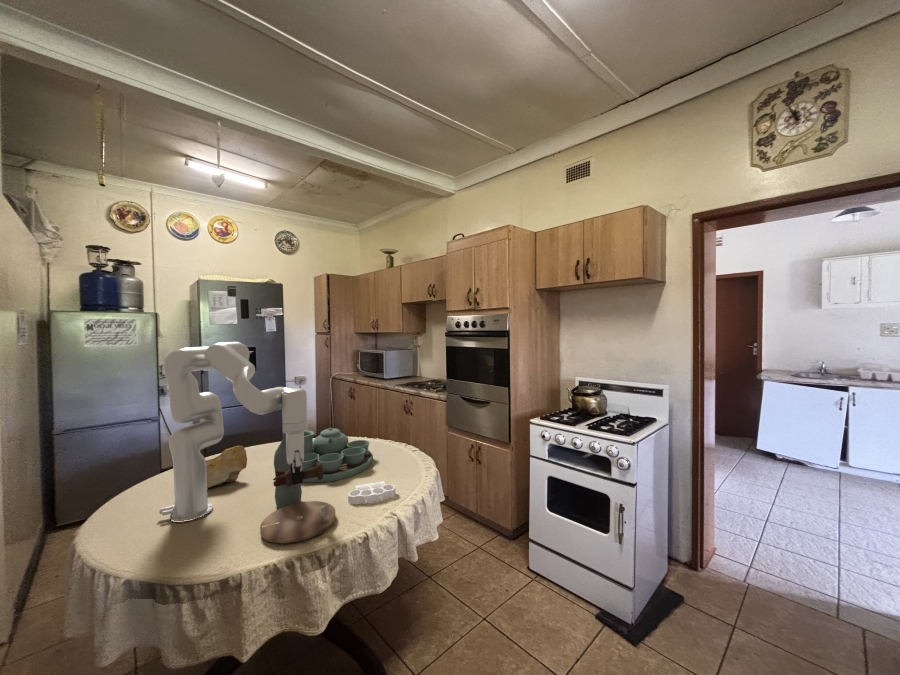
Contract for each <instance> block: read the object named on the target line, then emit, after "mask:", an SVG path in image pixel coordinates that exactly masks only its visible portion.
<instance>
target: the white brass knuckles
mask: <svg viewBox="0 0 900 675" xmlns="http://www.w3.org/2000/svg"><path fill="white" fill-rule="evenodd" d="M396 494H397V493H396V486H395V485H394V484H387V483H386V482H385V480H382V481H377V482H369V483H366V484H365V483H364V484H359V485H358V484H356V485H355V488H354V489H352V490H350V491H349V492H348V493H347V502H348V504H350V505H352V504H355V505H359V504H358V503H363V504H362V505H370V504H372V502H374V503H381V502H384V501H385V500H387V499H393V498H395V497H396ZM394 496H395V497H394ZM380 501H381V502H380ZM367 503H368V504H367ZM369 503H370V504H369Z"/></svg>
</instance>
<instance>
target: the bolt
mask: <svg viewBox="0 0 900 675" xmlns="http://www.w3.org/2000/svg"><path fill="white" fill-rule="evenodd" d="M302 471H303V479H310V478H315V477H317V478H318V480H322V478H323V467H322V464H321V463H320V462H318V463H316V467H312V468H310V469H305V470H302ZM272 480H273V486H274V487H275V488H276V487H278V486H280V485H285V484H286V486H287V487H289V486H292V473H291V471H290V470H289V471H286V472H285V475H280V476H277V477H276V476H275V477H274V478H273V479H272Z"/></svg>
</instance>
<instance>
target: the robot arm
mask: <svg viewBox="0 0 900 675" xmlns="http://www.w3.org/2000/svg"><path fill="white" fill-rule="evenodd" d="M249 359H250V350H249V348H248V347H247V345H246V344H244V343H242V342H240V341H227V342H225V341H224V342H216V343H215V342H214V343H213V344H211V345H208V346H191V347H182V348H178V349H174V350H172V351H171V352H169V353H168V355H167V356H166V357H165V358H164V362H163V373H164V376H165V379H166V381H167V386H168V392H169V393H168V394H169V396H168V397H169V403H170V405H169V406H170V412H171V414H170V415H171V417H172V420H173V421H174V422H175V423H177V424H188V423H190V422H196V421H198V420H199V422H198V423H194V424H193V423H192V424H191V425H187V426H184V427H181V428H179V429H177V430H175V431H174V432H172V434H170V436H169V438H168V448H169V451H170V455H171V457H172V465H173V466H172V467H173V468H172V470H173V488H174V490H173V492H174V504H171V506H165V507H160V508H159V515H162V516H163V517H164V516H167V515H169V520H170V519H171V520H174V521H184V520H190V519H194V518H198V517H200V516H203V515H205V514H207V513H209V512H210V511H211V512H212V511H213V510H212V509H214V505H213V503H211V502H210V501H209V499H208V496H209V495H208V489H207V467H206V460H207V459H206V458H205V456H204V455H203V454H202V453H201V451H202V450H204V449H206V448H208V447H211V446H214V445H216V444H218V443H220V441H222V439H223V438H224V433H225V430H224V428H225V427H224V418H223V417H224V416H223V408H222V402H221V400H220V398H219V397H218V395H217V394H215V393H214V392H211V391H203V392H200V390H199V387H200V386H199V382H198V380H197V378H196V377H195V376H194V374H192V372H197V371H206V370H214V369H215V370H216V371H218V373H220V374H221V375H222V376H224V377H225V378H226V379H227V380H228V381H230V382H231V383H232V389H233V393H234V396H235V398H236V401H237V402H239V403H240V404H241V405H242V406H243V407H244V408H246V409H247V410H249V412H251V413H252V414H255V415H267V414H270V413H272V412H275V411H276V412H277V411H279V410H281V418H282V421H281V422H282V425H283V426H282V434H283V433H285V434H286V459H287V463H288V464H289V465H290V464H291V466H290V471H291V473H292V485H296V484H303V483H304V482H303V471H302V462H303V461H304V431H306V430H308V405H307V404H308V403H307V400H308V398H307V392H306V390H305V389H304V388H298V387H297V388H294V387H293V388H289V387H284V386H276V387H274V388H273V387H272V388H267V389H263V390H260V389H259V388H257V387H256V386H255V385H254V384H252V383H251V382H250V380H251V379H252V377H253V376H254V375H255V371H256V367H255V365H254V364H253V363H252V362H251V361H249ZM301 461H302V462H301ZM211 512H210V513H211ZM210 513H209V514H210ZM207 515H208V514H207ZM205 516H206V515H205ZM203 517H204V516H203Z"/></svg>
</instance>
